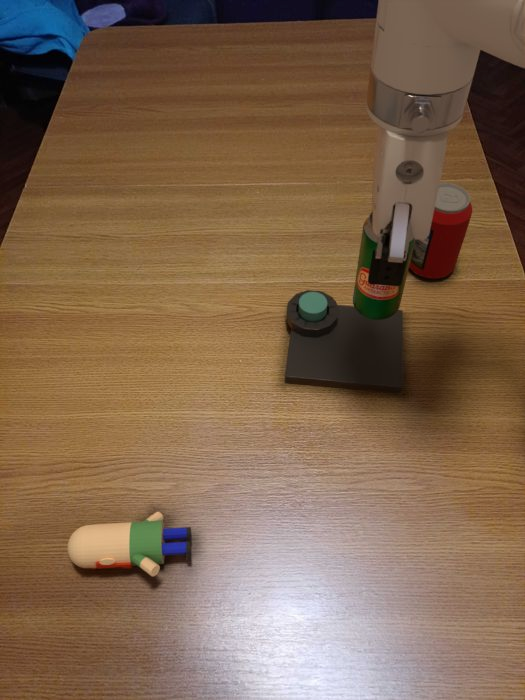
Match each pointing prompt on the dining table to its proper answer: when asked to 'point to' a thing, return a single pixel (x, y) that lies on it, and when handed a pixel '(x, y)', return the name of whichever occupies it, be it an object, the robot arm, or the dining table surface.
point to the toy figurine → (128, 544)
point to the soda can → (372, 297)
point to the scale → (345, 349)
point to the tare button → (312, 306)
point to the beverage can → (443, 233)
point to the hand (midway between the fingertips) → (384, 260)
